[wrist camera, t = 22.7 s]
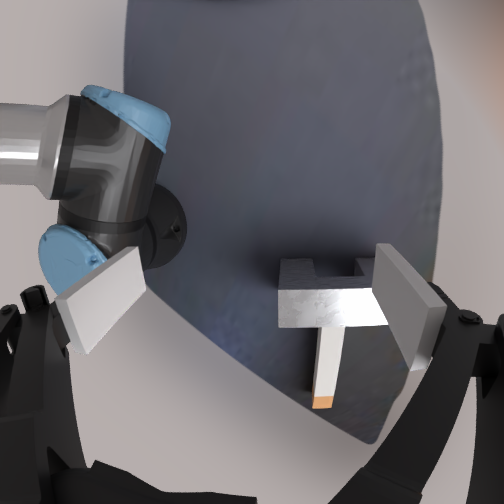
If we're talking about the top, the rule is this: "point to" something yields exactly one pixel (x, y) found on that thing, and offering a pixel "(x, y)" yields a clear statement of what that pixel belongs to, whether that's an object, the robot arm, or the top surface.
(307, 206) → the top surface
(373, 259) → the grey arch-shaped block
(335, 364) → the white and orange bar
